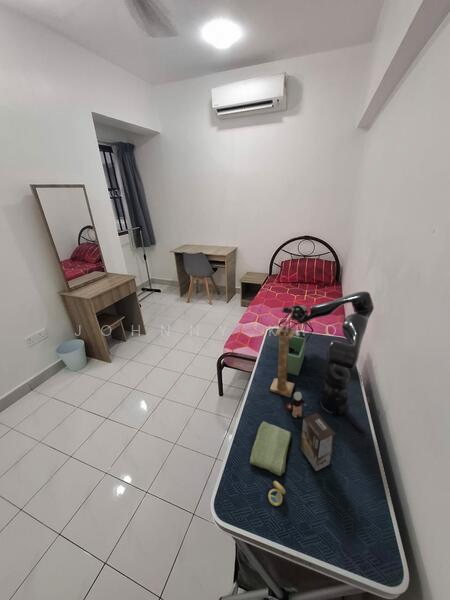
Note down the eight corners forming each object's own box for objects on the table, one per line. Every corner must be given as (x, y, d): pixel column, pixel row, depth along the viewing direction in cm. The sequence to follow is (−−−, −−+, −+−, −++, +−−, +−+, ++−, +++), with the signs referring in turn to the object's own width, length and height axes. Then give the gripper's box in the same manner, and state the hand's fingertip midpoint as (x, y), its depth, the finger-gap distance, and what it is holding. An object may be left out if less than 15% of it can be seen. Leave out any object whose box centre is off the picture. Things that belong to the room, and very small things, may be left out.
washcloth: (292, 434, 96) (292, 428, 94) (283, 479, 81) (283, 474, 80) (260, 423, 101) (260, 418, 99) (246, 464, 86) (246, 459, 85)
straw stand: (294, 385, 118) (299, 326, 103) (290, 397, 112) (295, 335, 97) (274, 379, 122) (276, 321, 107) (269, 390, 116) (271, 330, 101)
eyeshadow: (265, 497, 77) (265, 489, 75) (274, 485, 80) (275, 476, 78) (277, 509, 74) (277, 501, 72) (286, 495, 77) (286, 487, 75)
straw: (294, 311, 113) (295, 308, 113) (288, 323, 103) (288, 321, 102) (292, 310, 114) (292, 308, 113) (285, 323, 103) (285, 320, 103)
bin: (304, 355, 138) (306, 338, 133) (298, 375, 124) (299, 357, 119) (286, 351, 143) (287, 334, 137) (278, 370, 129) (278, 352, 124)
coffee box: (330, 464, 85) (336, 434, 78) (315, 471, 83) (320, 442, 76) (313, 441, 92) (317, 412, 86) (299, 447, 91) (302, 418, 84)
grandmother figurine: (300, 408, 106) (303, 387, 101) (306, 415, 103) (308, 393, 97) (285, 413, 104) (287, 392, 99) (290, 421, 101) (292, 399, 95)
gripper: (285, 303, 128) (278, 300, 112) (312, 307, 122) (308, 305, 106) (283, 317, 128) (275, 316, 112) (309, 322, 122) (305, 321, 106)
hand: (291, 310), depth 109 cm, fingers closed on straw, 1 cm apart
